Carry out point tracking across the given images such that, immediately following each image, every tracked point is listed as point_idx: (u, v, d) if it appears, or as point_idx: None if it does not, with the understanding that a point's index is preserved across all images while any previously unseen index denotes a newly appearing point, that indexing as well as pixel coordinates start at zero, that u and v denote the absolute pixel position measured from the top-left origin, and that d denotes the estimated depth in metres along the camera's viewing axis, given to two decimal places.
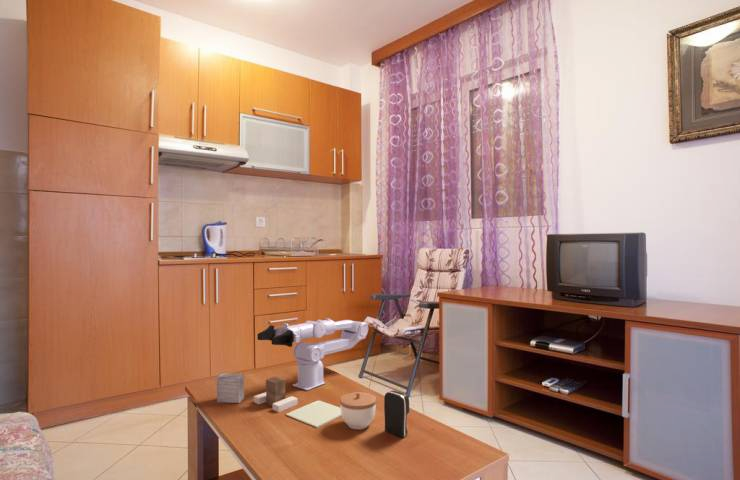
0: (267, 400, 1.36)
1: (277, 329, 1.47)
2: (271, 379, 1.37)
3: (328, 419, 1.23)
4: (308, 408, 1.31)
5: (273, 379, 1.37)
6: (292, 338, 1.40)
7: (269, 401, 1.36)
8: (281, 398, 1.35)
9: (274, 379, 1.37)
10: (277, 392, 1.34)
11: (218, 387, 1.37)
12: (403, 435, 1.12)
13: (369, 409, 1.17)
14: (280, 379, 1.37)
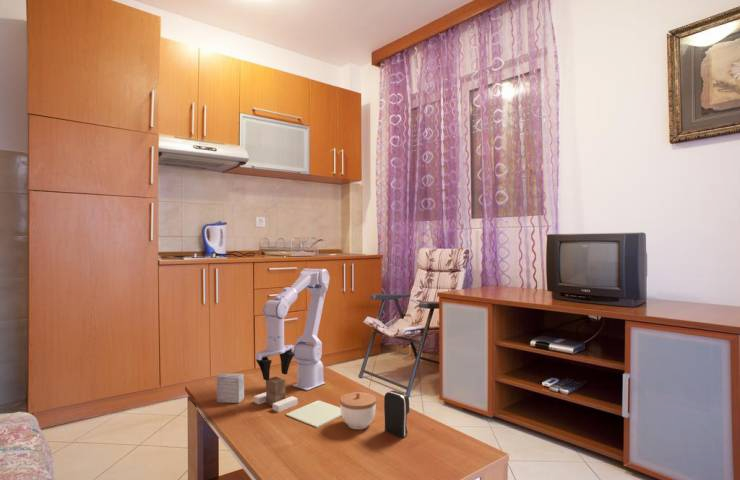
0: (267, 400, 1.36)
1: None
2: (271, 379, 1.37)
3: (328, 419, 1.23)
4: (308, 408, 1.31)
5: (273, 379, 1.37)
6: None
7: (269, 401, 1.36)
8: (281, 398, 1.35)
9: (274, 379, 1.37)
10: (277, 392, 1.34)
11: (218, 387, 1.37)
12: (403, 435, 1.12)
13: (369, 409, 1.17)
14: (280, 379, 1.37)
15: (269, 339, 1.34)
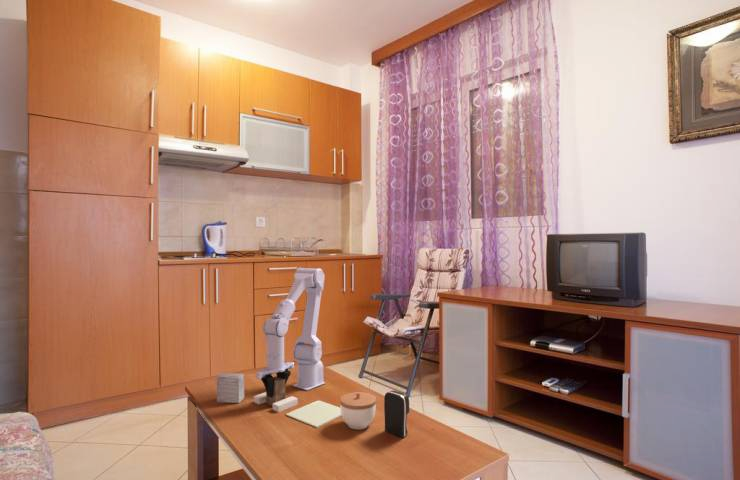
0: (267, 400, 1.36)
1: None
2: None
3: (328, 419, 1.23)
4: (308, 408, 1.31)
5: None
6: None
7: (269, 401, 1.36)
8: (281, 398, 1.35)
9: None
10: (277, 392, 1.34)
11: (218, 387, 1.37)
12: (403, 435, 1.12)
13: (369, 409, 1.17)
14: (280, 379, 1.37)
15: (269, 357, 1.34)
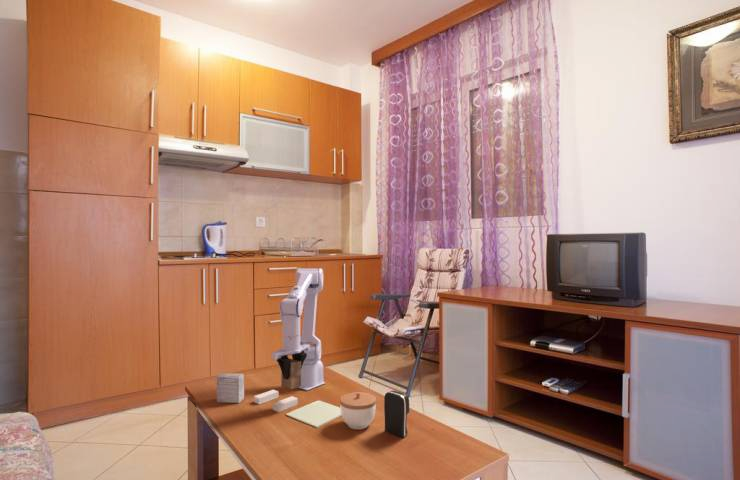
0: (282, 382, 1.33)
1: None
2: None
3: (328, 419, 1.23)
4: (308, 408, 1.31)
5: None
6: None
7: (284, 383, 1.32)
8: (297, 380, 1.32)
9: None
10: (293, 374, 1.31)
11: (218, 387, 1.37)
12: (403, 435, 1.12)
13: (369, 409, 1.17)
14: (296, 361, 1.34)
15: (285, 338, 1.31)
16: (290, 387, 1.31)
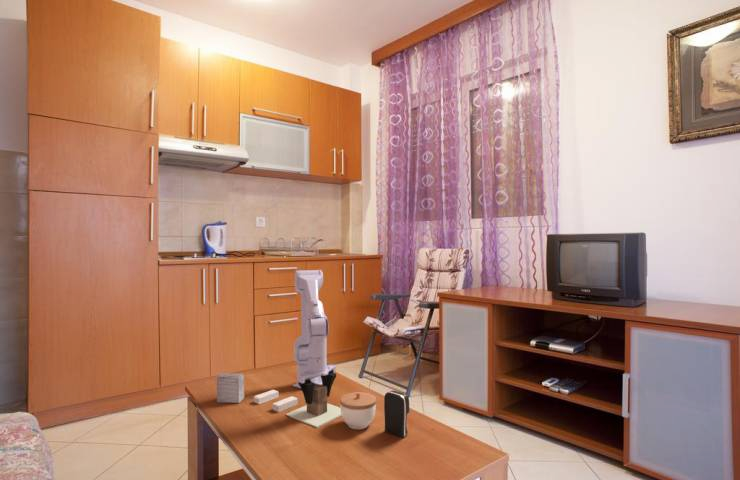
0: (308, 408, 1.28)
1: None
2: None
3: (328, 419, 1.23)
4: None
5: (314, 386, 1.29)
6: None
7: (310, 410, 1.28)
8: (323, 406, 1.27)
9: (315, 386, 1.29)
10: (320, 400, 1.26)
11: (218, 387, 1.37)
12: (403, 435, 1.12)
13: (369, 409, 1.17)
14: (322, 386, 1.29)
15: (311, 360, 1.26)
16: (317, 414, 1.26)
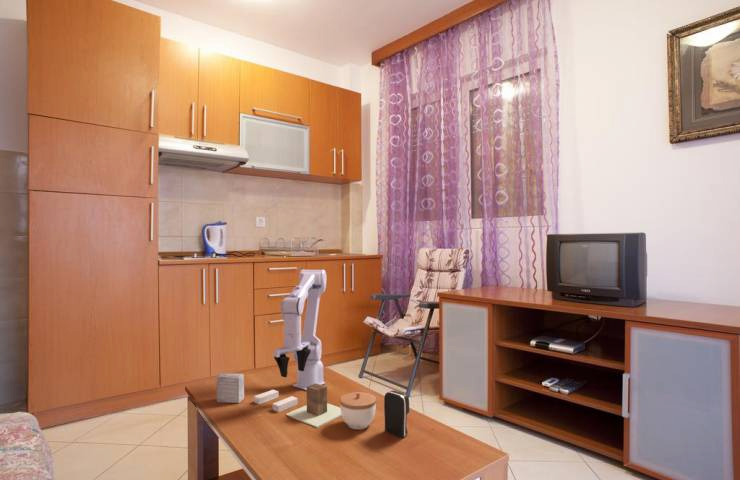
0: (308, 408, 1.28)
1: None
2: (312, 386, 1.29)
3: (328, 419, 1.23)
4: None
5: (314, 386, 1.29)
6: None
7: (310, 410, 1.28)
8: (323, 406, 1.27)
9: (315, 386, 1.29)
10: (320, 400, 1.26)
11: (218, 387, 1.37)
12: (403, 435, 1.12)
13: (369, 409, 1.17)
14: (322, 386, 1.29)
15: (287, 336, 1.35)
16: (317, 414, 1.26)
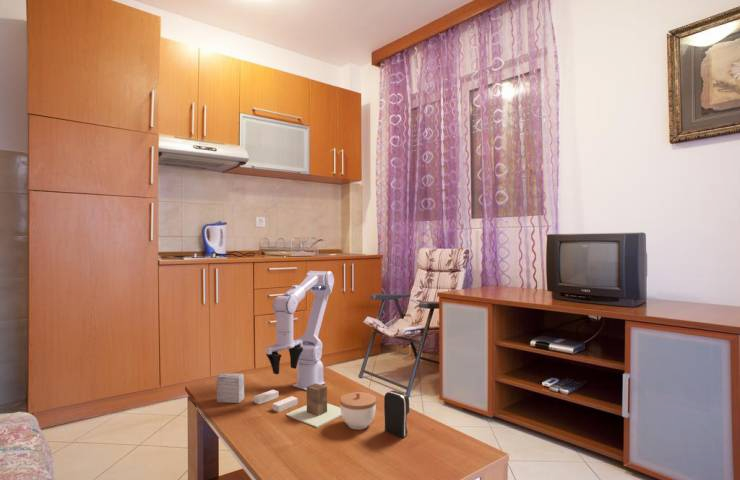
0: (308, 408, 1.28)
1: None
2: (312, 386, 1.29)
3: (328, 419, 1.23)
4: None
5: (314, 386, 1.29)
6: None
7: (310, 410, 1.28)
8: (323, 406, 1.27)
9: (315, 386, 1.29)
10: (320, 400, 1.26)
11: (218, 387, 1.37)
12: (403, 435, 1.12)
13: (369, 409, 1.17)
14: (322, 386, 1.29)
15: (279, 334, 1.37)
16: (317, 414, 1.26)
